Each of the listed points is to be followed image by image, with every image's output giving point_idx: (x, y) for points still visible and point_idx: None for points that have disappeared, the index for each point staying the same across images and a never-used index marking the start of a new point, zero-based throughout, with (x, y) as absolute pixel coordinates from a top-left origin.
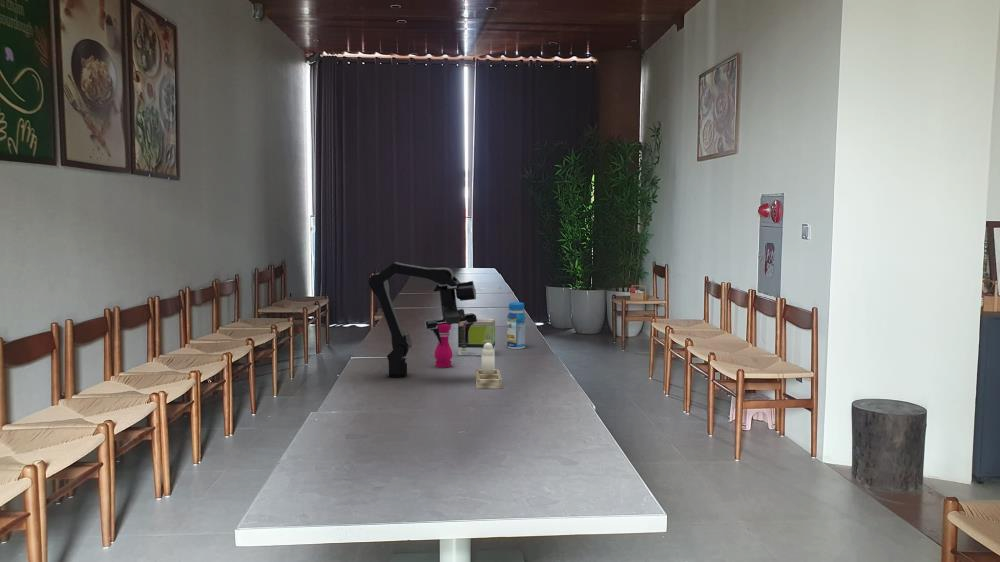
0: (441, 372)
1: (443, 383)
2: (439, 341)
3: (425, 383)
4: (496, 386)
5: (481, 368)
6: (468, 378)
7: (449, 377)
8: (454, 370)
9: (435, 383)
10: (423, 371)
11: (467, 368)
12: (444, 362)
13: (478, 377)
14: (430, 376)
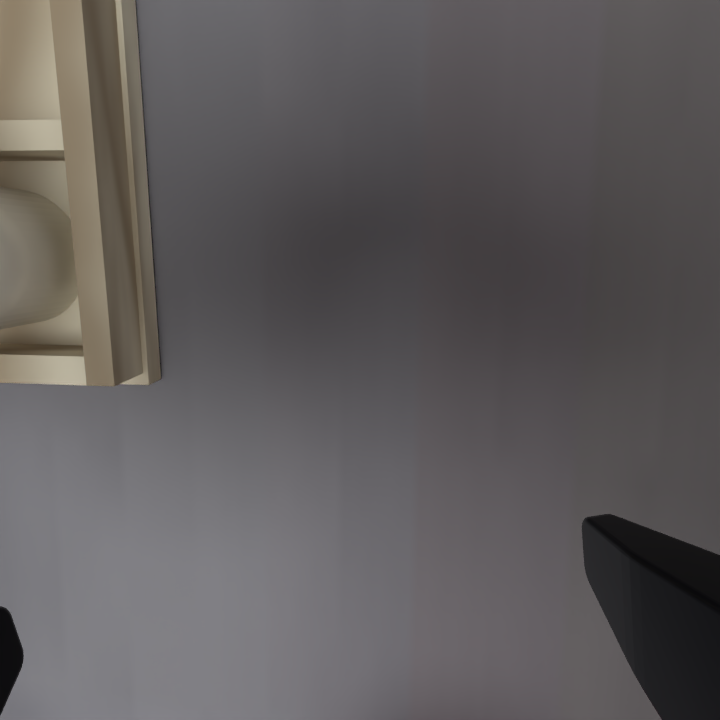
0: (474, 582)
1: (472, 130)
2: (698, 552)
3: (669, 134)
4: None
5: (16, 250)
6: (222, 334)
7: (403, 384)
8: (352, 642)
9: (558, 132)
10: None
11: (238, 698)
12: None
13: None
14: (592, 436)
